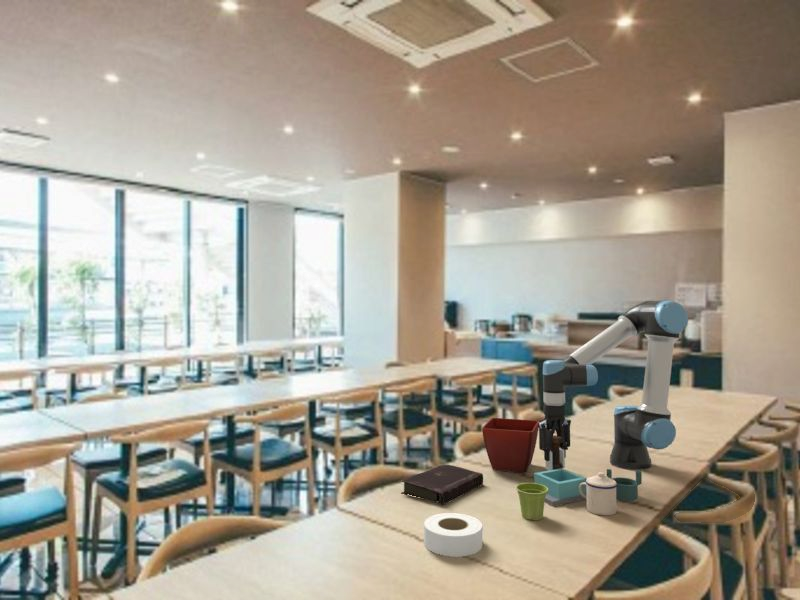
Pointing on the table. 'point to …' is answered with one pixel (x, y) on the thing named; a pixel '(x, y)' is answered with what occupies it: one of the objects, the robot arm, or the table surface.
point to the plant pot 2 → (532, 500)
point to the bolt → (556, 452)
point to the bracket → (626, 486)
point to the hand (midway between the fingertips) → (555, 468)
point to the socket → (561, 486)
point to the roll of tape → (453, 534)
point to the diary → (442, 483)
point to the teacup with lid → (600, 494)
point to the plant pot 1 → (510, 443)
